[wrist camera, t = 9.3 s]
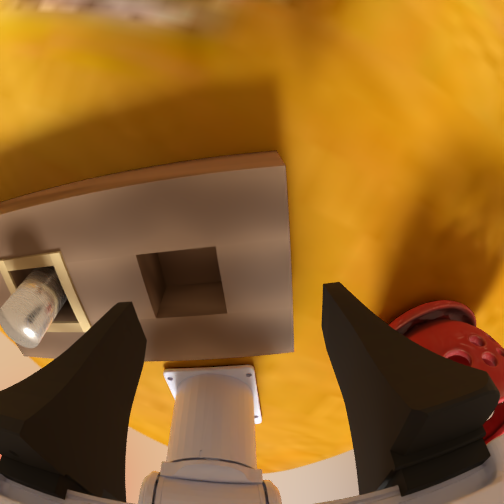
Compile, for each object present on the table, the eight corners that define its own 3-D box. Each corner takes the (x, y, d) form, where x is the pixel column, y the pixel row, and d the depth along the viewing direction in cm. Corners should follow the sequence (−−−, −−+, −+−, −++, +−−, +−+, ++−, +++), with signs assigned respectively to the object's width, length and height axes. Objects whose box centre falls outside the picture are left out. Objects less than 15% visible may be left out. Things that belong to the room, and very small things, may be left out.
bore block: (286, 313, 24) (294, 354, 20) (42, 326, 24) (23, 357, 20) (276, 150, 18) (285, 166, 14) (-9, 205, 18) (-42, 227, 15)
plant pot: (364, 292, 23) (427, 424, 13) (486, 281, 23) (560, 369, 13) (337, 395, 29) (362, 500, 19) (442, 376, 30) (482, 459, 19)
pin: (87, 284, 21) (47, 349, 15) (55, 286, 21) (13, 346, 15) (73, 246, 20) (24, 305, 14) (41, 250, 20) (-10, 306, 14)
